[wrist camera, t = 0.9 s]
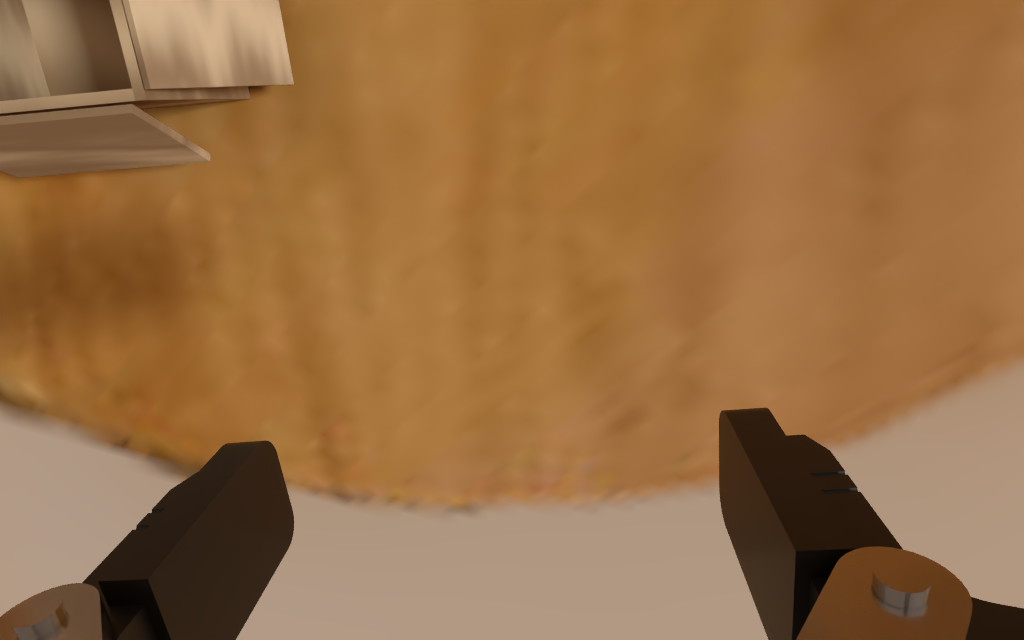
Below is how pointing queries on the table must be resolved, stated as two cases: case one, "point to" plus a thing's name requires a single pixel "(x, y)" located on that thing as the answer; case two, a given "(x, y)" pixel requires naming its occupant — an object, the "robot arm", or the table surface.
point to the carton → (124, 77)
